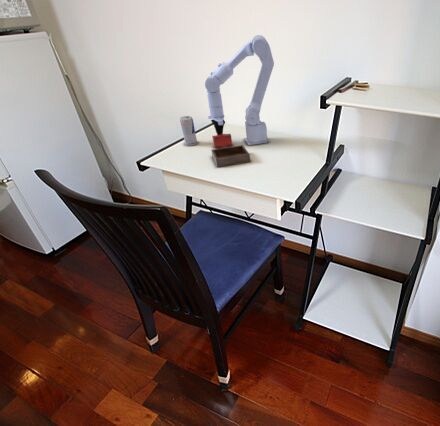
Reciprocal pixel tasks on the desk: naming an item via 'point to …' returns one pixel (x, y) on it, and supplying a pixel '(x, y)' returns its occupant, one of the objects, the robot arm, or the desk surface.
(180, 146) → the desk surface
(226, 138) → the red block
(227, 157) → the crate
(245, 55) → the robot arm
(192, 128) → the energy drink
